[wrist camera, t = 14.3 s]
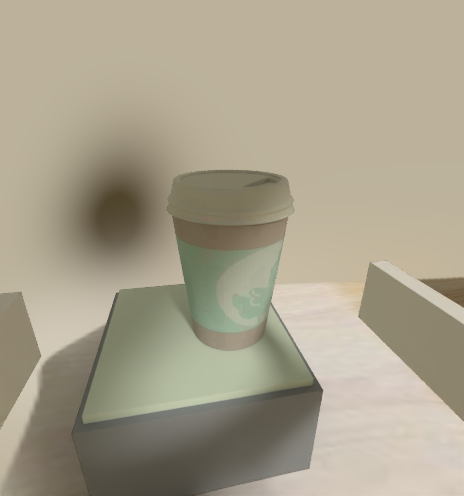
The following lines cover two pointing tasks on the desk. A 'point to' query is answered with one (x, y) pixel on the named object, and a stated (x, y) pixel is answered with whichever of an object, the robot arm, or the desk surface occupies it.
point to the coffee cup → (230, 250)
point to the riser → (190, 404)
